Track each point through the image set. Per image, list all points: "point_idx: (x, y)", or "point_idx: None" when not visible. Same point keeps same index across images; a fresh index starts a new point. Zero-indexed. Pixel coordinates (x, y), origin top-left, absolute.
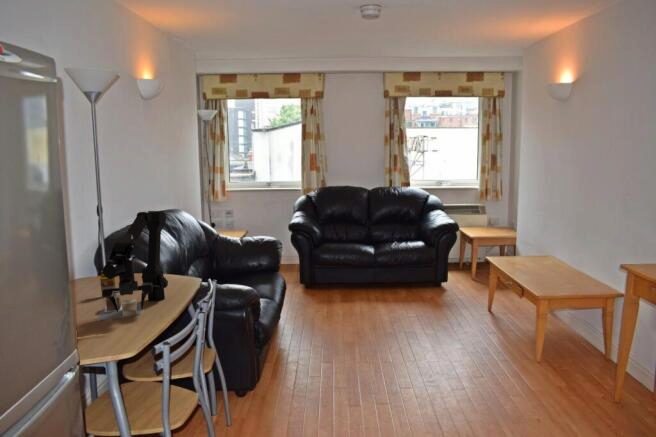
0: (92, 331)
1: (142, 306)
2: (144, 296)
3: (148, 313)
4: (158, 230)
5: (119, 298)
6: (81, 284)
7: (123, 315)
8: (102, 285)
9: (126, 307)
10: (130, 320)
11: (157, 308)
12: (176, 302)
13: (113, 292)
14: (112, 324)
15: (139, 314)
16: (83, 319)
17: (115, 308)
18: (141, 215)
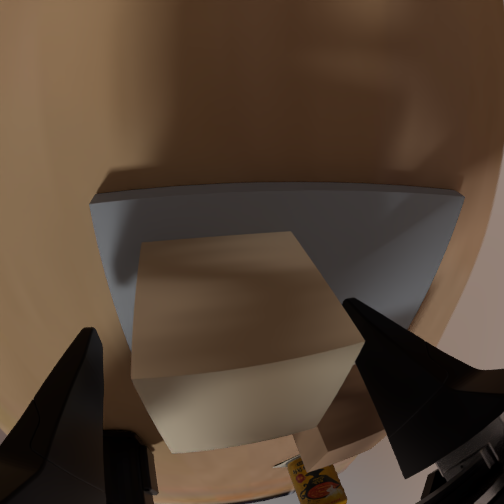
0: (480, 16)
1: (73, 347)
2: (1, 460)
3: (55, 297)
4: None
5: (313, 449)
6: (342, 467)
7: (288, 237)
8: (337, 481)
9: (278, 307)
10: (200, 116)
11: (44, 372)
12: (3, 406)
13: (490, 466)
14: (384, 71)
15: (106, 245)
16: (465, 274)
17: (384, 316)
18: None
